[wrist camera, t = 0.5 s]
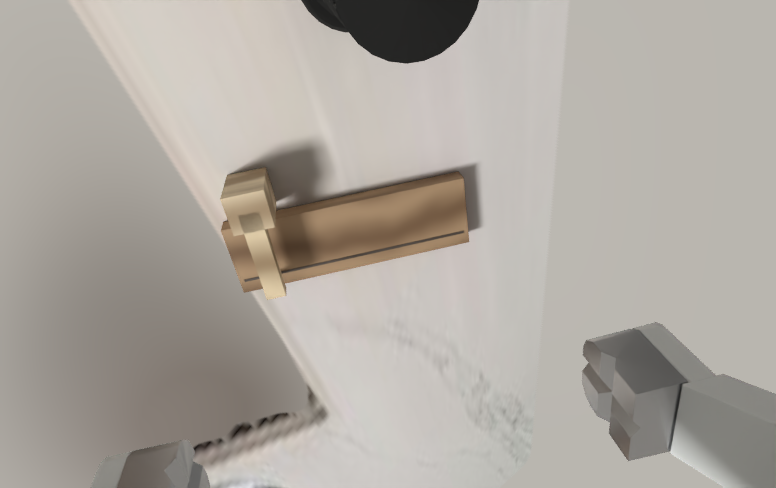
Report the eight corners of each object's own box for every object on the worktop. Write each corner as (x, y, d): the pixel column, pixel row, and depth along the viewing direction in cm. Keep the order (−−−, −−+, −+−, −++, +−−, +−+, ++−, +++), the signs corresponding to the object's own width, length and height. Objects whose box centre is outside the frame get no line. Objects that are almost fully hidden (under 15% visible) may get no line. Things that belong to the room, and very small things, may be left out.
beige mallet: (227, 175, 52) (220, 199, 47) (265, 167, 52) (263, 189, 47) (260, 271, 58) (257, 302, 53) (294, 263, 58) (295, 293, 53)
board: (223, 222, 54) (220, 231, 52) (458, 171, 56) (463, 178, 54) (245, 282, 58) (244, 293, 56) (463, 233, 60) (469, 242, 58)
